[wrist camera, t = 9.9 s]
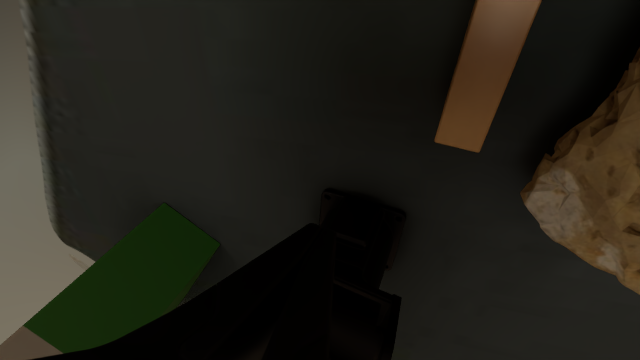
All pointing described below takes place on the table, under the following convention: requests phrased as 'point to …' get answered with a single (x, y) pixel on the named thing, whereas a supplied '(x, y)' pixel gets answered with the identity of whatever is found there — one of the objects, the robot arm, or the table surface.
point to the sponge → (596, 185)
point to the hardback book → (119, 289)
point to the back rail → (484, 70)
